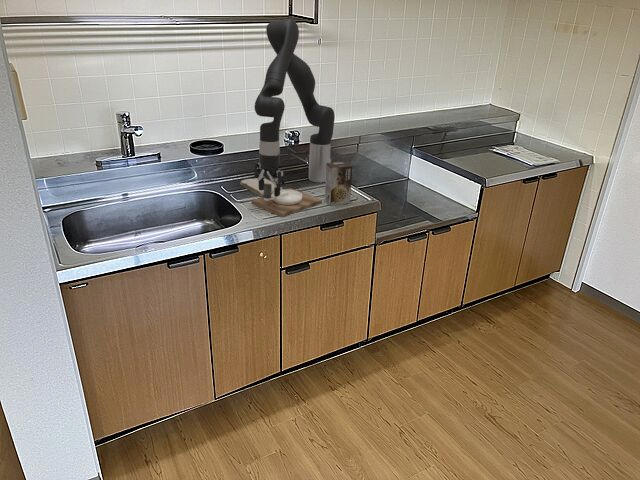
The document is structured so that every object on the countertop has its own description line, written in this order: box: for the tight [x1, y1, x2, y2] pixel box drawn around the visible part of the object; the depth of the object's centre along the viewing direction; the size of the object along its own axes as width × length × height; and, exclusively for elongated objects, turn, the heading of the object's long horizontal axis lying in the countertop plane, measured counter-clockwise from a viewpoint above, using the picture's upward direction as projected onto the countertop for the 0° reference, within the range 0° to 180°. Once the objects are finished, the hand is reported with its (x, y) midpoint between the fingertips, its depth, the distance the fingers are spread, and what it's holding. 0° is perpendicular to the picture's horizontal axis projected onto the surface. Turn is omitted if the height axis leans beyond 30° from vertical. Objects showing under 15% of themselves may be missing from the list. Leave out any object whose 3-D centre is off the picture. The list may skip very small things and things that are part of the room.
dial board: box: [250, 187, 323, 218], centre depth 209 cm, size 22×18×2 cm
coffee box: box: [324, 161, 353, 206], centre depth 211 cm, size 9×6×16 cm
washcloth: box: [239, 177, 284, 197], centre depth 224 cm, size 12×18×3 cm, turn 38°
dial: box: [263, 184, 302, 205], centre depth 205 cm, size 18×12×8 cm
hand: (269, 193), depth 200 cm, fingers open, 8 cm apart
